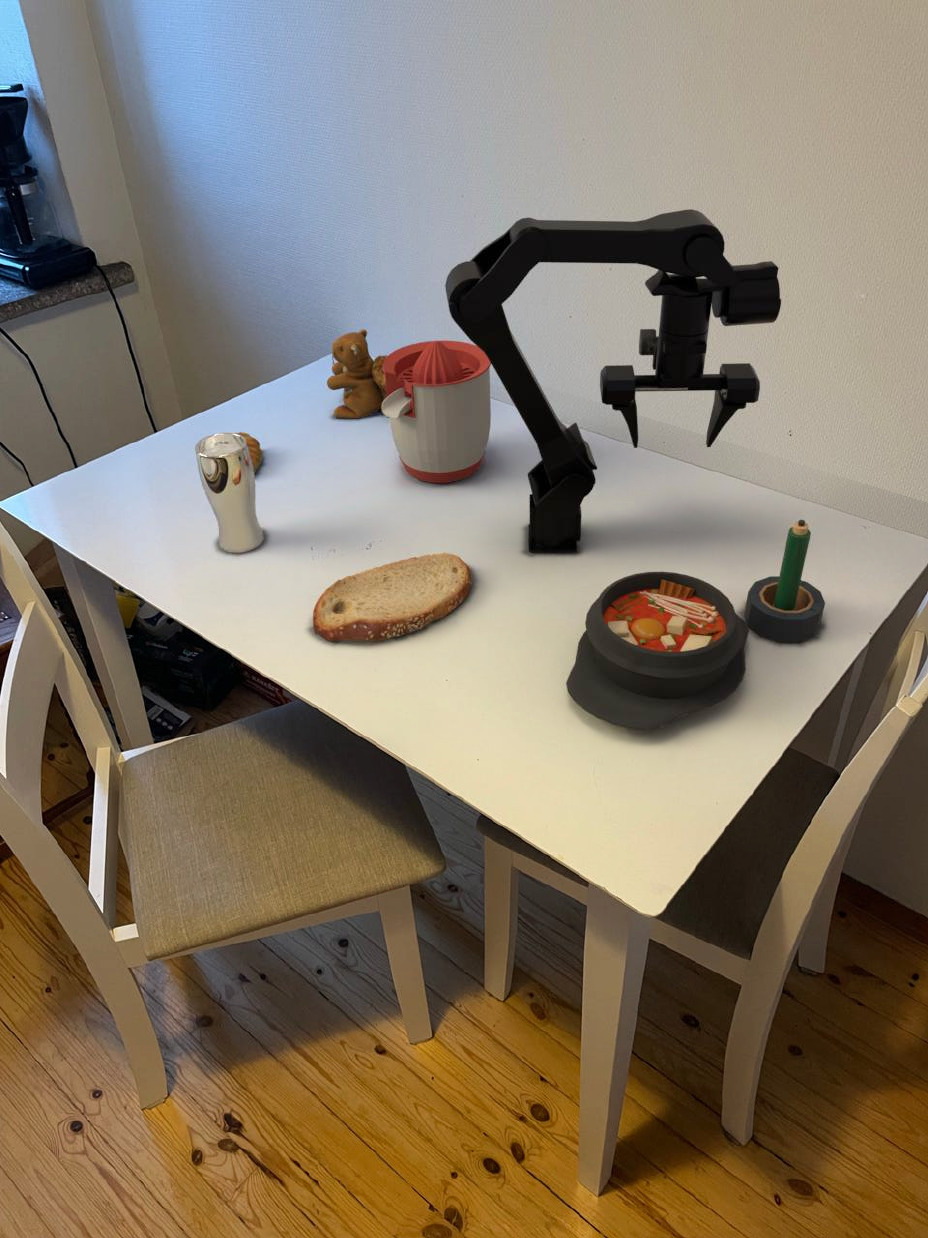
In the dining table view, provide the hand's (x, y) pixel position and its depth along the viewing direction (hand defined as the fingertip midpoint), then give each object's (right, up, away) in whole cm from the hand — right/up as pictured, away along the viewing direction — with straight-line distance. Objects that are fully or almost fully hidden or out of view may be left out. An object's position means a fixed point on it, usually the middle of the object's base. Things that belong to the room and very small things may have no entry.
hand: (671, 446), depth 122 cm
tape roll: (+11, -22, -8) cm, 26 cm away
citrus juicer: (-30, +1, +24) cm, 39 cm away
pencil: (+11, -22, -8) cm, 26 cm away
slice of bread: (-35, -20, -2) cm, 41 cm away
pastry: (-61, +2, +28) cm, 67 cm away
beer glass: (-57, -11, +11) cm, 59 cm away
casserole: (-4, -28, -14) cm, 32 cm away
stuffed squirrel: (-42, +14, +42) cm, 61 cm away
